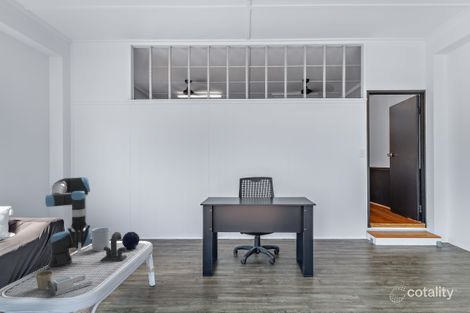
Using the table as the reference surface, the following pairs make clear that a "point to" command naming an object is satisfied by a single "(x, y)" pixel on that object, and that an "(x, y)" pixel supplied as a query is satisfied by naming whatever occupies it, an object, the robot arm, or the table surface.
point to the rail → (54, 292)
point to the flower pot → (43, 279)
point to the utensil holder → (100, 238)
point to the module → (63, 283)
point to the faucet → (114, 250)
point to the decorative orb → (130, 240)
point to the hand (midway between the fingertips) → (79, 253)
